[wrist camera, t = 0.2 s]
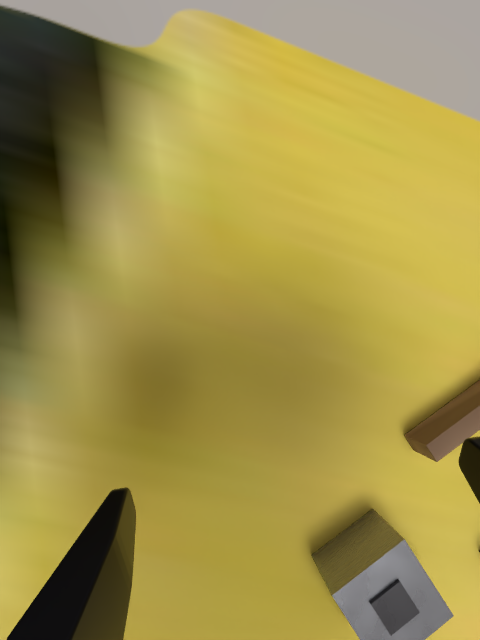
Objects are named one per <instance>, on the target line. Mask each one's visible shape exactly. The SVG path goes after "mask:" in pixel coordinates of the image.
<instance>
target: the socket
mask: <svg viewBox="0 0 480 640" xmlns="http://www.w3.org/2000/svg"><path fill="white" fill-rule="evenodd" d="M312 557H313V559H314V561H315V563H316V565H317V567H318V569H319V571H320V573H321V575H322V577H323V579H324V581H325V583H326V585H327V587H328V589H329V591H330V593H331V595H332V596H333V598H334V600H335V601H336V603H337V604H338V606H339V607H340V609H341V611H342V612H343V614H344V615H345V617H346V618H347V620H348V621H349V623H350V625H351V626H352V628H353V629H354V631H355V632H356V634H357V636H358V637H359V639H360V640H425V639H426V638H427V637H429V636H430V635H431V634H432V633H434V632H435V631H436V630H437V629H438V628H440V627H441V626H442V625H443V624H444V623H446V622H447V621H448V620H449V619H451V618H452V617H453V614H452V612H451V611H450V609H449V608H448V606H447V605H446V603H445V602H444V600H443V598H442V597H441V595H440V594H439V592H438V591H437V589H436V588H435V586H434V584H433V583H432V581H431V580H430V578H429V577H428V575H427V574H426V572H425V570H424V569H423V567H422V566H421V564H420V563H419V561H418V560H417V558H416V556H415V555H414V553H413V552H412V550H411V549H410V547H409V546H408V544H407V542H406V541H405V539H404V538H403V537H402V536H401V535H399V534H398V533H397V532H396V531H395V530H394V529H393V528H392V527H391V526H390V525H389V524H388V523H387V522H386V521H385V520H384V519H383V518H382V517H381V516H380V515H379V514H378V513H377V512H376V511H375V510H374V509H372V510H371V511H369V512H368V513H367V514H365V515H364V516H363V517H361V518H360V519H359V520H357V521H356V522H355V523H353V524H352V525H351V526H349V527H348V528H347V529H345V530H344V531H343V532H341V533H340V534H339V535H337V536H336V537H335V538H333V539H332V540H331V541H329V542H328V543H327V544H325V545H324V546H323V547H321V548H320V549H319V550H317V551H316V552H315V553H313V554H312Z"/></svg>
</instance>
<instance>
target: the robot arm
mask: <svg viewBox="0 0 480 640" xmlns="http://www.w3.org/2000/svg"><path fill="white" fill-rule="evenodd" d="M459 466H460V469H461V471H462V473H463V474H464V476H465V478H466V480H467V482H468V483H469V485H470V487H471V489H472V491H473V492H474V494H475V496H476V498H477V500H478V501H479V503H480V437H472V438H467V439H465V440H464V442H463V445H462V449H461V453H460V457H459ZM135 527H136V510H135V506H134V502H133V499H132V495H131V492H130V490H129V488H120V489H114V490H112V491H111V492H110V493H109V495H108V496H107V497H106V499H105V500H104V502H103V503H102V505H101V506H100V507H99V509H98V510H97V512H96V513H95V514H94V516H93V517H92V519H91V520H90V521H89V523H88V524H87V526H86V527H85V529H84V530H83V531H82V533H81V534H80V536H79V537H78V538H77V540H76V541H75V543H74V544H73V546H72V547H71V548H70V550H69V551H68V553H67V554H66V555H65V557H64V558H63V560H62V561H61V562H60V564H59V565H58V567H57V568H56V570H55V571H54V572H53V574H52V575H51V577H50V578H49V579H48V581H47V582H46V584H45V585H44V587H43V588H42V589H41V591H40V592H39V594H38V595H37V596H36V598H35V599H34V601H33V602H32V603H31V605H30V606H29V608H28V609H27V611H26V612H25V613H24V615H23V616H22V618H21V619H20V620H19V622H18V623H17V625H16V626H15V628H14V629H13V630H12V632H11V633H10V635H9V636H8V637H7V640H123V637H124V631H125V625H126V619H127V613H128V607H129V600H130V594H131V587H132V576H133V561H134V544H135Z"/></svg>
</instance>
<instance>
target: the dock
mask: <svg viewBox="0 0 480 640" xmlns="http://www.w3.org/2000/svg"><path fill="white" fill-rule="evenodd" d="M479 430H480V380H479V381H478V382H476V383H475V384H473V385H472V386H471V387H469V388H468V389H467V390H465V391H464V392H463V393H461V394H460V395H458V396H457V397H456V398H454V399H453V400H452V401H450V402H449V403H448V404H446V405H445V406H443V407H442V408H441V409H439V410H438V411H437V412H435V413H434V414H433V415H431V416H430V417H428V418H427V419H426V420H424V421H423V422H422V423H420V424H419V425H418V426H416V427H415V428H413V429H412V430H411V431H409V432H408V433H407V434H405V435H404V436H405V438H406V439H407V441H408V442H409V444H410V445H411V447H412V448H413V450H414V451H416V452H418V453H420V454H422V455H424V456H426V457H428V458H430V459H432V460H434V461H436V462H438V461H439V460H440V459H442V458H443V457H444V456H446V455H447V454H448V453H450V452H451V451H452V450H454V449H455V448H456V447H458V446H459V445H460V444H462V443H463V442H464V440H465V439H467V438H469V437H471V436H472V435H473V434H475V433H476V432H477V431H479ZM479 552H480V551H479Z"/></svg>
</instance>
